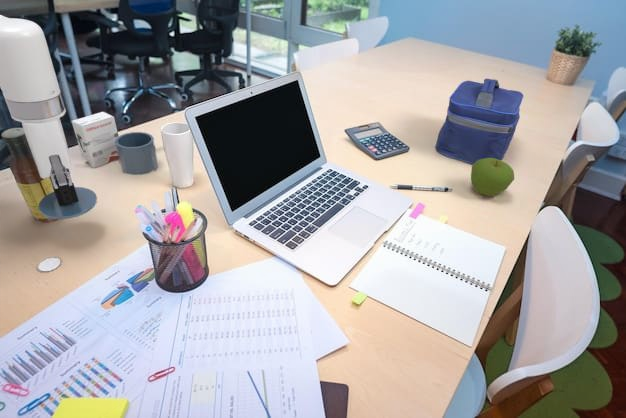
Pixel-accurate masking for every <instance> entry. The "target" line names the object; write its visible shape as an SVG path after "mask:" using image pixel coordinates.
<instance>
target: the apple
mask: <svg viewBox="0 0 626 418" xmlns="http://www.w3.org/2000/svg"><path fill="white" fill-rule="evenodd" d="M470 181H471V187H472V188H473V189H474V190H475V191H476V192H477V193H478V194H480V195H481V196H485V197H496V196H499V195H500V194H502V193H503V192H505V191H506V190H507V189H508V188H509V186H510V185H511V184H512V183H513V182H514V181H515V172H514V169H513V168H512V167H511V166H510V165H509V164H508V163H507V162H505V161H503V160H498V159H495V158H485V159H480V160H478V161H476V162H475V163H474V164H472V165H471V171H470Z"/></svg>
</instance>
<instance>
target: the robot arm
mask: <svg viewBox="0 0 626 418" xmlns="http://www.w3.org/2000/svg"><path fill="white" fill-rule="evenodd" d="M46 39H47V38H46V37H45V33H44V31H43V29H42V28H41V26H40V25H39V24H38V23H36V22H34V21H32V20H29V19H24V18H15V17H14V18H13V17H7V16H5V15H2V14H0V90H1V92H2V93H1V94H3V98H4V101H5V103H6V105H7V109H8V111H9V113H10V117H11V119H13V121H16V122H19V123H21V126H22V128H23V129H24V132H25V135H26V138H27V141H28V144H29V147H30V150H31V152H32V155H33V158H34V160H35V163H36V166H37V169H38V172H39V174H40V177H41V178H43V179H45V178H48V177H50V176H51V178H50V180H51V179H52V181H53V184H54V187H53V189H54V192H55V195H56V198H57V201H58V204H59V205H60V206H63V205H67V204H72V203H76V202H78V201H79V200H78V197H77V193H76V190H75V187H76V186H75V184H74V182H73V180H72V178H71V179H70V177H71V174H72V172H73V170H74V169H73V165H72V160H71V156H70V152H69V147H68V143H67V139H66V136H65V132H64V128H63V125H62V122H61V118H62V117H64V116H65V114H67V113H66V112H67V109H66V106H65V102H64V99H63V96H62V92H61V88H60V85H59V82H58V78H57V75H56V71H55V68H54V64H53V61H52V58H51V54H50V50H49V46H48V42H47V40H46ZM65 174H66V177H65ZM69 174H70V176H69ZM55 176H56V177H57V179H56V180H55ZM52 181H51V183H52ZM71 181H72V182H71ZM53 184H52V186H53Z"/></svg>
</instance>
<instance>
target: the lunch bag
mask: <svg viewBox="0 0 626 418" xmlns="http://www.w3.org/2000/svg"><path fill="white" fill-rule="evenodd" d="M523 99H524V94H523V93H522V91H518V90H513V89H506V88H502V87H500V83H499V80H498V79H492V78H485V79H483V83H482V82H478V81H473V80H465V81H462V82H461V83H459V84H458V86H457V87H456V88H455V90H454V91H453V92H452V94H450V96H449V100H448V106H447V109H446V116H445V120H444V122H443V124H442V126H441V127H440V130H439V132H438V134H437V139H436V144H435V146H434V148H435V150H436V151H437V152H439V153H440V154H442V155H444V156H446V157H450V158H452V159H455V160H459V161H463V162H466V163H469V164H472V165H474V163H475V162H476V161H478V160H480V159H485V158H495V159H498V160H501V161H503V159H504V157H505V155H506V154H507V151H508V149H509V147H510V145H511V143H512V140H513V138H514V135H515V132H516V128H517V127H518V126H517V125H518V123H519V120H520V118H521V117H520V107H521V105H522V101H523Z"/></svg>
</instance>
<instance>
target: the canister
mask: <svg viewBox="0 0 626 418" xmlns="http://www.w3.org/2000/svg"><path fill="white" fill-rule="evenodd" d="M115 144H116V149H117V153H116V154H117V155H118V157H119V159H118V161H119V165H120V169H121V171H122V173H123V174H128V175H134V176H135V175H145V174H150V173H151V172H153V171H154V172H156V171H157V170H158V169H159V159H158V155H157V149H156V143H155V137H154V136H153V135H152V134H151V133H148V132H143V131H131V132H126V133H124V134H123V133H122V134H121V135H119V137H118V138H116V140H115Z"/></svg>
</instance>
